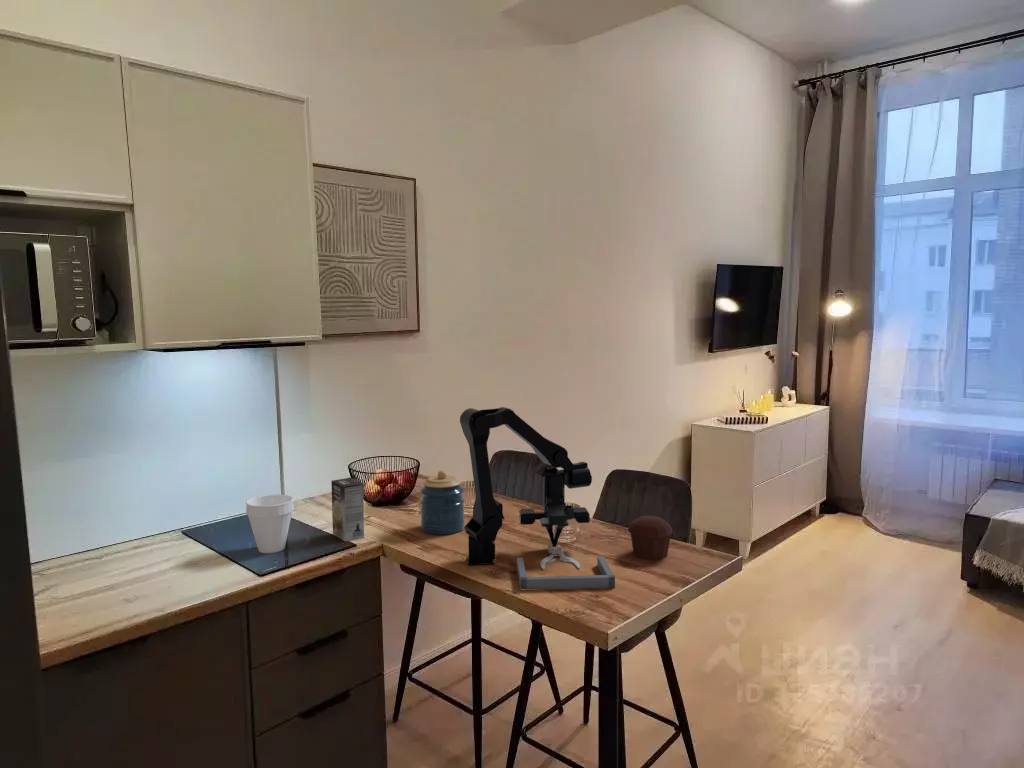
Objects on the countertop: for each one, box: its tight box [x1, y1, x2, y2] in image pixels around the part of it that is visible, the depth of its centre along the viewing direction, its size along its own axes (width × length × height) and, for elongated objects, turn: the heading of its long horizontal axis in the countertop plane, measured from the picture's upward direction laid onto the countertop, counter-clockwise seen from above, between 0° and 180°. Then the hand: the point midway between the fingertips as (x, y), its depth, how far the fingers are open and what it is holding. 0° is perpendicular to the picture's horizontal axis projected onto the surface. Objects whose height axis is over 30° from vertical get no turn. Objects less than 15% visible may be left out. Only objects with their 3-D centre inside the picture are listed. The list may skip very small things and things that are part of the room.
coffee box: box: [331, 477, 365, 543], centre depth 198 cm, size 9×6×16 cm
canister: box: [419, 470, 465, 536], centre depth 204 cm, size 13×13×18 cm
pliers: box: [540, 544, 581, 571], centre depth 179 cm, size 10×2×15 cm
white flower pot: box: [245, 494, 295, 554], centre depth 187 cm, size 12×12×14 cm
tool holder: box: [516, 555, 616, 590], centre depth 166 cm, size 22×14×2 cm, turn 93°
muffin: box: [627, 515, 673, 561], centre depth 182 cm, size 12×11×10 cm
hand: (554, 546), depth 187 cm, fingers closed
